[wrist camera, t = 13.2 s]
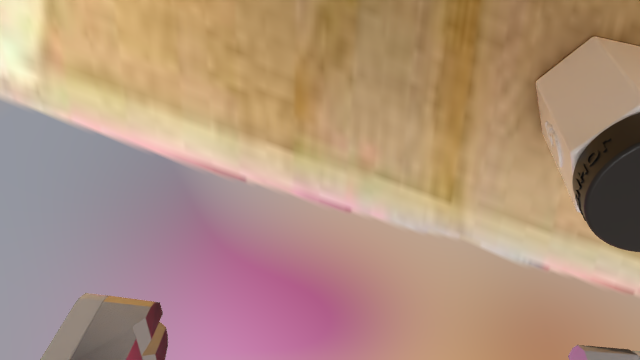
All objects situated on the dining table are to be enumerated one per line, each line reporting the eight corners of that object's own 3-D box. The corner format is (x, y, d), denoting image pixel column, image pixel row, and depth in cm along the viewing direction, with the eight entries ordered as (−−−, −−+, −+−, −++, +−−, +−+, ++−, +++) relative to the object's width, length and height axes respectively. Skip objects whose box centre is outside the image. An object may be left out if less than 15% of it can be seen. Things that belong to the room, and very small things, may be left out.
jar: (527, 52, 36) (576, 147, 27) (660, 17, 34) (766, 106, 24) (542, 157, 41) (588, 270, 31) (659, 132, 39) (748, 245, 29)
